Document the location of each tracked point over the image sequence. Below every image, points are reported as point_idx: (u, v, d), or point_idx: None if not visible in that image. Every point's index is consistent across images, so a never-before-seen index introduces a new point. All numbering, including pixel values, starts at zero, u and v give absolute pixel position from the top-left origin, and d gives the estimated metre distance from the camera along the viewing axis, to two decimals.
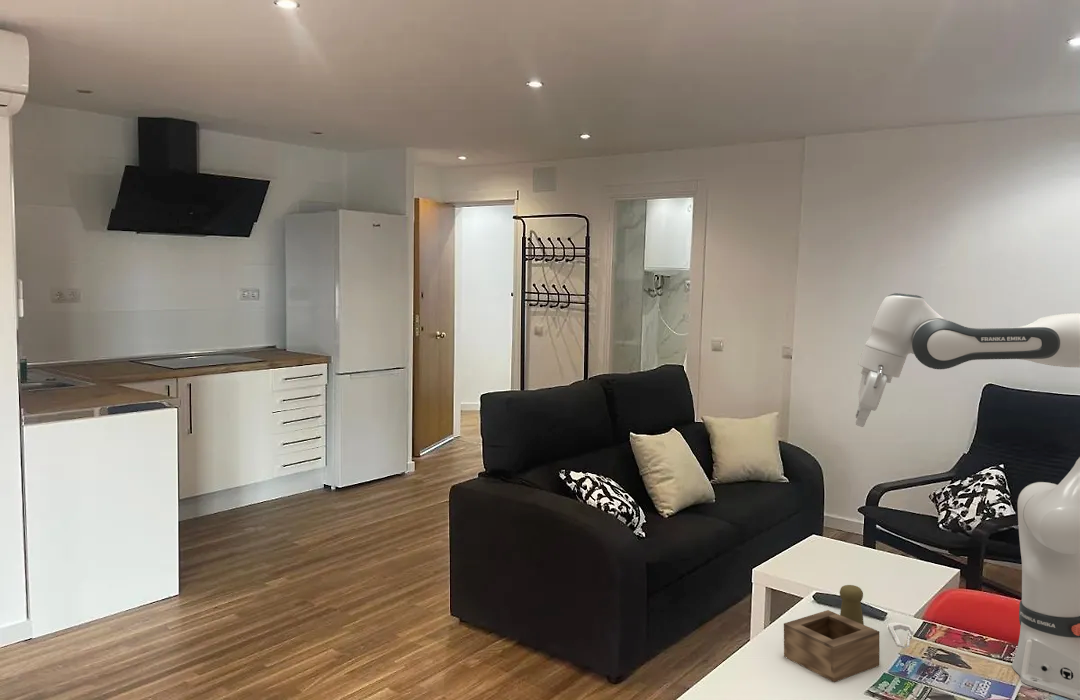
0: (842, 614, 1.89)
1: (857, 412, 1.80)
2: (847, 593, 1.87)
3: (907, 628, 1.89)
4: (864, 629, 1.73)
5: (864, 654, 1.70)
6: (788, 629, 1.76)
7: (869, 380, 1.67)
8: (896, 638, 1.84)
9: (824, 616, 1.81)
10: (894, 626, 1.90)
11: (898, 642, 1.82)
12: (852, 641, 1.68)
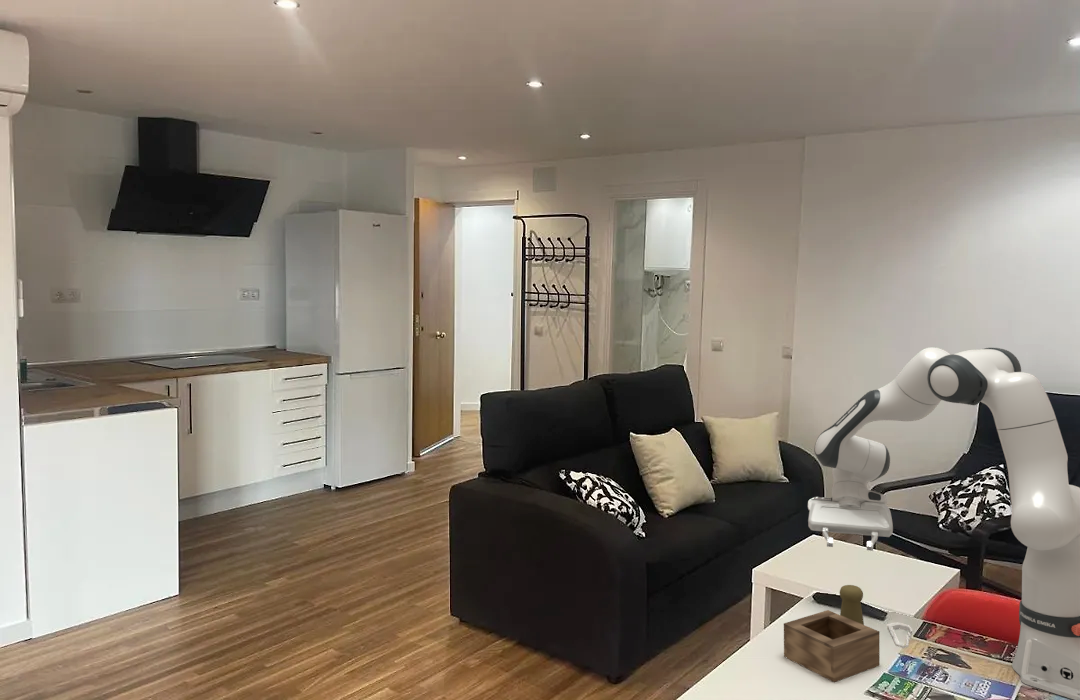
0: (842, 614, 1.89)
1: None
2: (847, 593, 1.87)
3: (907, 628, 1.89)
4: (864, 629, 1.73)
5: (864, 654, 1.70)
6: (788, 629, 1.76)
7: None
8: (895, 638, 1.84)
9: (824, 616, 1.81)
10: (894, 626, 1.90)
11: (897, 642, 1.82)
12: (852, 641, 1.68)
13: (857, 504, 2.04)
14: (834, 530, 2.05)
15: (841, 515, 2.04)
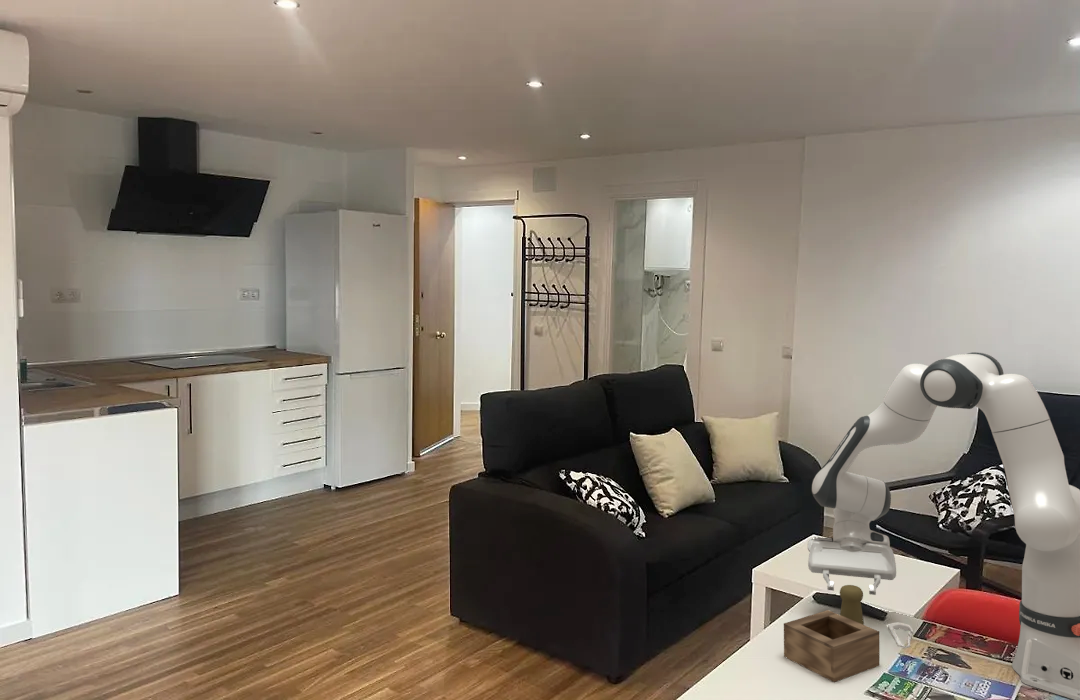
0: (842, 614, 1.89)
1: None
2: (847, 593, 1.87)
3: (907, 628, 1.89)
4: (864, 629, 1.73)
5: (864, 654, 1.70)
6: (788, 629, 1.76)
7: None
8: (897, 638, 1.84)
9: (824, 616, 1.81)
10: (894, 626, 1.90)
11: (899, 642, 1.82)
12: (852, 641, 1.68)
13: (859, 545, 1.96)
14: (835, 572, 1.97)
15: (842, 556, 1.96)
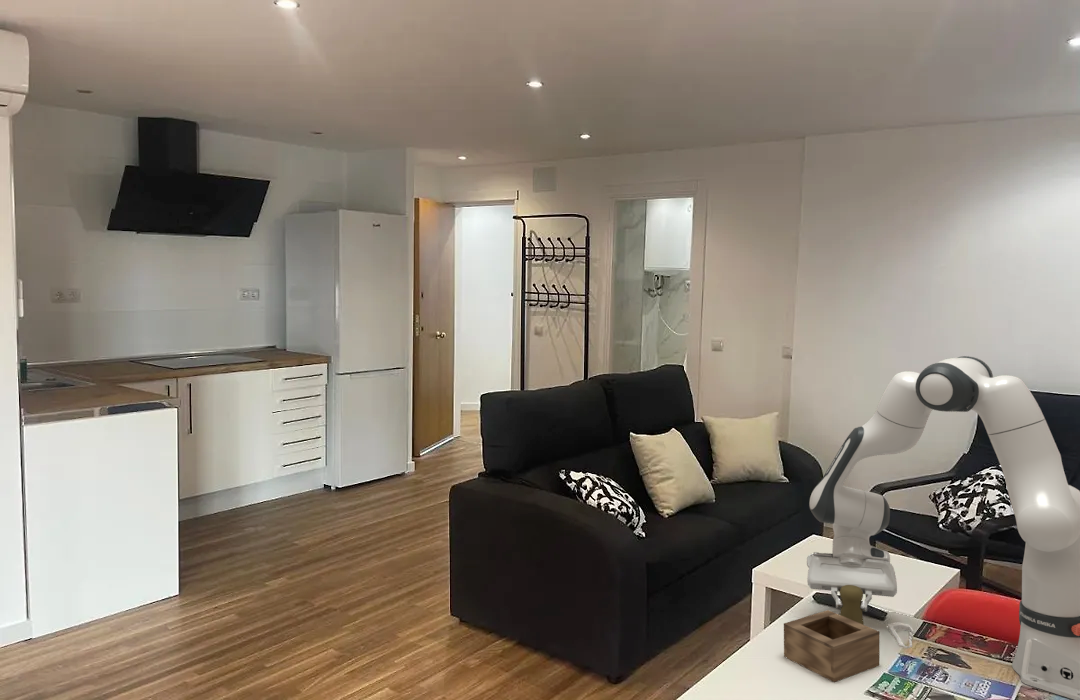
0: (842, 614, 1.89)
1: None
2: (847, 593, 1.87)
3: (907, 628, 1.89)
4: (864, 629, 1.73)
5: (864, 654, 1.70)
6: (788, 629, 1.76)
7: None
8: (898, 638, 1.84)
9: (824, 616, 1.81)
10: (894, 626, 1.90)
11: (901, 643, 1.82)
12: (852, 641, 1.68)
13: (859, 561, 1.93)
14: None
15: (842, 573, 1.93)
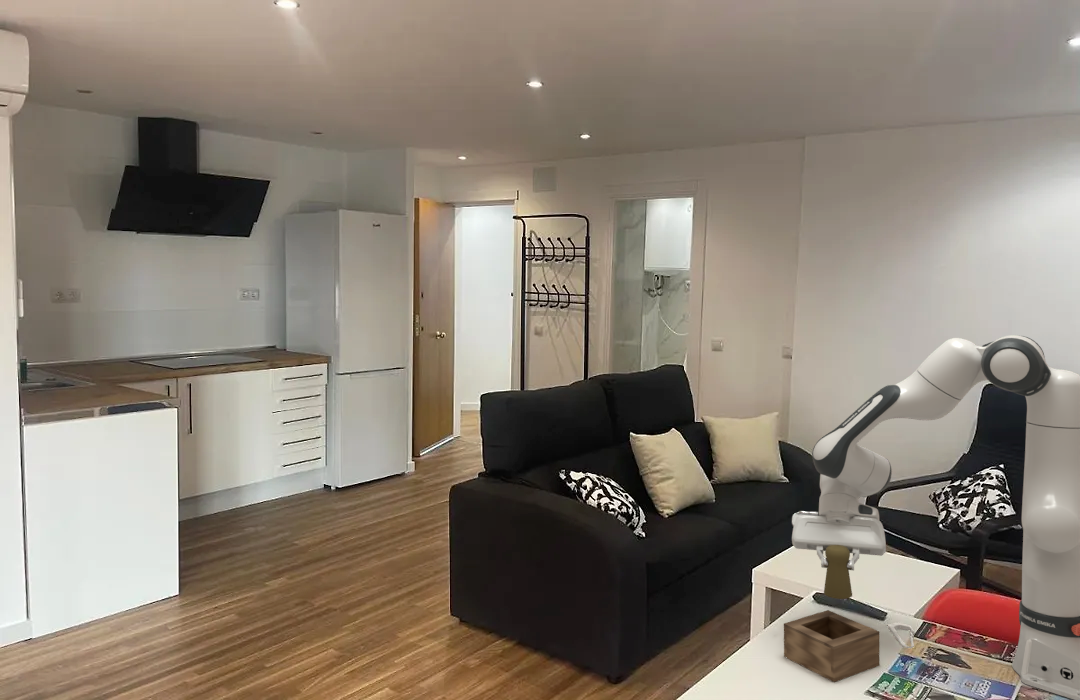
0: (828, 575, 1.79)
1: None
2: (833, 553, 1.77)
3: (907, 628, 1.89)
4: (864, 629, 1.73)
5: (864, 654, 1.70)
6: (788, 629, 1.76)
7: None
8: (900, 639, 1.84)
9: (824, 616, 1.81)
10: (895, 626, 1.90)
11: (902, 643, 1.82)
12: (852, 641, 1.68)
13: (846, 519, 1.83)
14: None
15: (828, 531, 1.83)
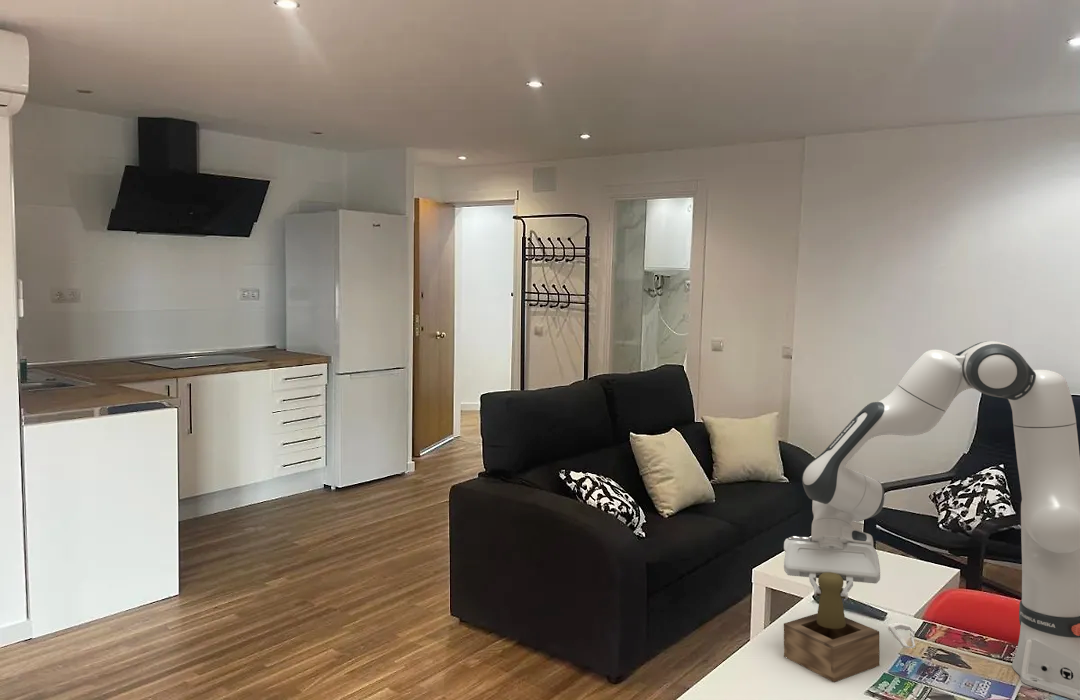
0: (821, 604, 1.74)
1: None
2: (826, 581, 1.72)
3: (908, 628, 1.89)
4: (864, 629, 1.73)
5: (864, 654, 1.70)
6: (788, 629, 1.76)
7: None
8: (901, 639, 1.83)
9: None
10: (895, 626, 1.90)
11: (904, 643, 1.82)
12: (852, 641, 1.68)
13: (839, 545, 1.78)
14: None
15: (821, 557, 1.78)
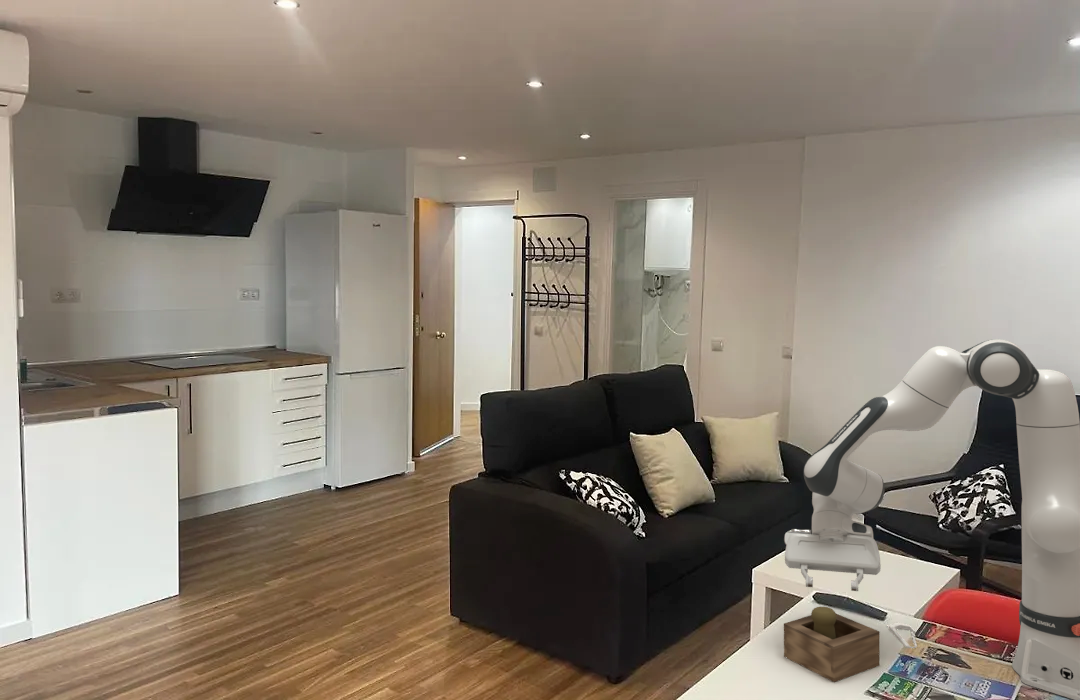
0: None
1: None
2: (819, 616, 1.72)
3: (908, 628, 1.89)
4: (864, 629, 1.73)
5: (864, 654, 1.70)
6: (788, 629, 1.76)
7: None
8: (902, 639, 1.83)
9: None
10: (895, 627, 1.90)
11: (906, 643, 1.81)
12: (852, 641, 1.68)
13: (840, 537, 1.79)
14: (814, 567, 1.80)
15: (822, 550, 1.79)
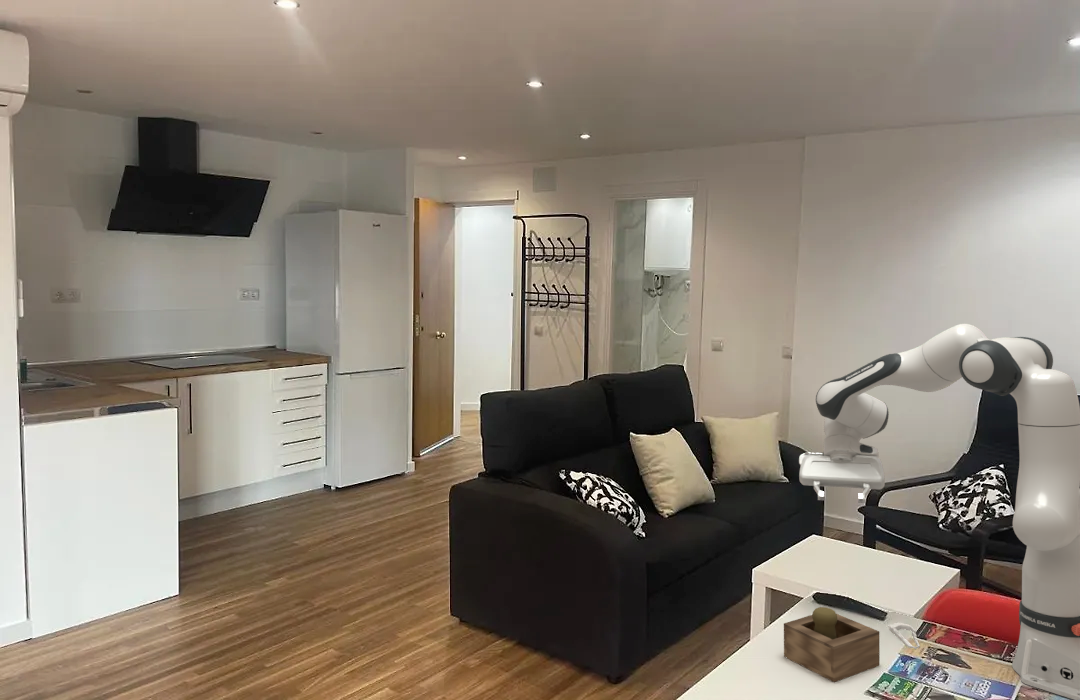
0: None
1: None
2: (820, 617, 1.72)
3: (908, 628, 1.90)
4: (864, 629, 1.73)
5: (864, 654, 1.70)
6: (788, 629, 1.76)
7: None
8: (904, 639, 1.83)
9: None
10: (896, 627, 1.90)
11: (908, 643, 1.81)
12: (852, 641, 1.68)
13: (848, 457, 2.01)
14: (825, 484, 2.02)
15: (832, 468, 2.01)
